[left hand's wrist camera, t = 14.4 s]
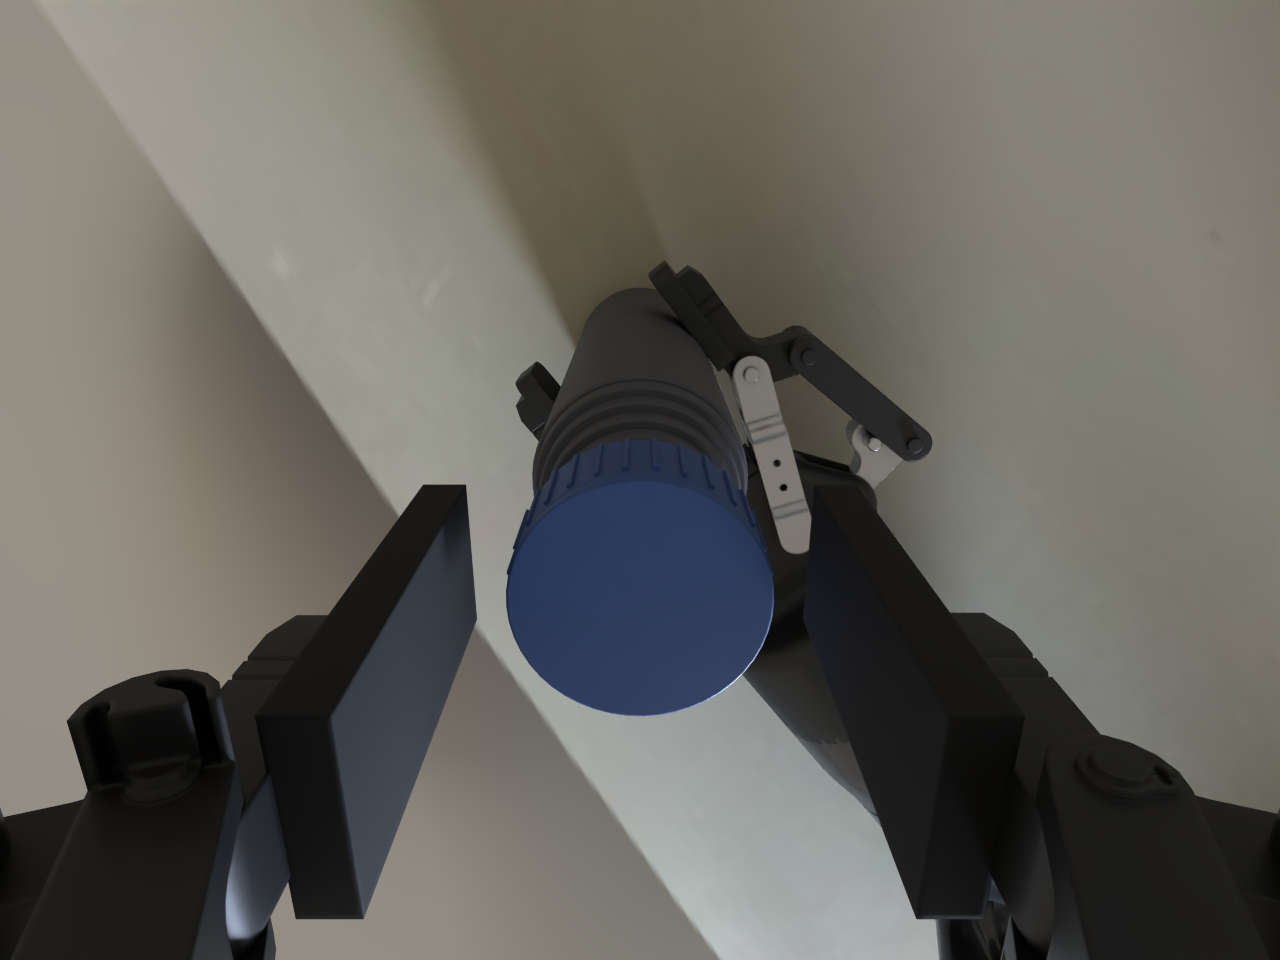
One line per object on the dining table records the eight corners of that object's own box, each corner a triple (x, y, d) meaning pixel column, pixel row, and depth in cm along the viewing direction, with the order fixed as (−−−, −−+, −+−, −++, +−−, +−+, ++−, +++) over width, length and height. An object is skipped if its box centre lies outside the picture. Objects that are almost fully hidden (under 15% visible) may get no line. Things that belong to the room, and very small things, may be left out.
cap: (635, 383, 13) (635, 417, 12) (809, 546, 15) (835, 600, 13) (471, 553, 15) (445, 609, 13) (644, 692, 16) (644, 763, 14)
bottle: (700, 401, 34) (787, 704, 14) (586, 408, 34) (511, 718, 14) (697, 284, 32) (788, 440, 12) (576, 291, 32) (474, 457, 12)
